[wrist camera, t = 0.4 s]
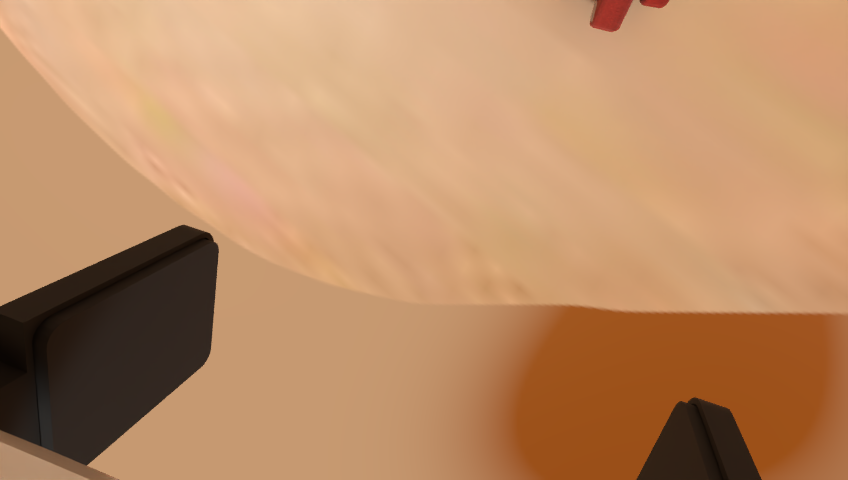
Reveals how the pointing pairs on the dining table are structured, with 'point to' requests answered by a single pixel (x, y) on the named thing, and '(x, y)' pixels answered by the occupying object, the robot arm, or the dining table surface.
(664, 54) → the dining table surface
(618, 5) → the toy fire truck
